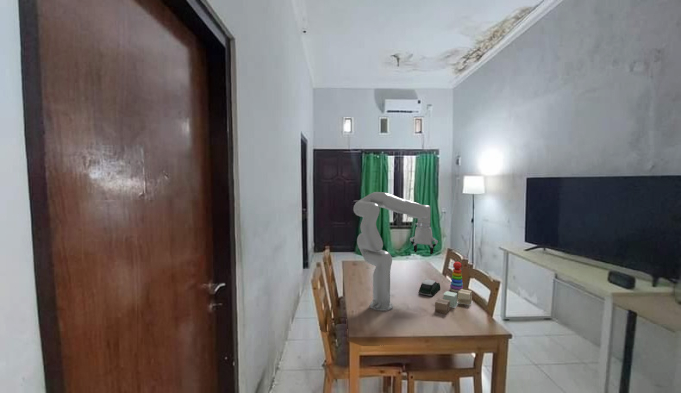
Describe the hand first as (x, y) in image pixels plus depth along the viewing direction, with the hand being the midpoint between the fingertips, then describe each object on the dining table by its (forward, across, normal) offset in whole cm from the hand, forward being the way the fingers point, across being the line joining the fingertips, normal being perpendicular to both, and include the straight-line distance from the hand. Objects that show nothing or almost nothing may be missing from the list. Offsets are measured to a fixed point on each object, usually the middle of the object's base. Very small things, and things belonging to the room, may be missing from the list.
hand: (423, 253), depth 187 cm
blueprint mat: (+26, +24, -5) cm, 35 cm away
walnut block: (+26, +17, -20) cm, 37 cm away
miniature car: (+26, +3, +5) cm, 26 cm away
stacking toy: (+26, +16, +16) cm, 34 cm away
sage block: (+25, +18, -9) cm, 32 cm away
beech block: (+25, +25, -1) cm, 35 cm away
